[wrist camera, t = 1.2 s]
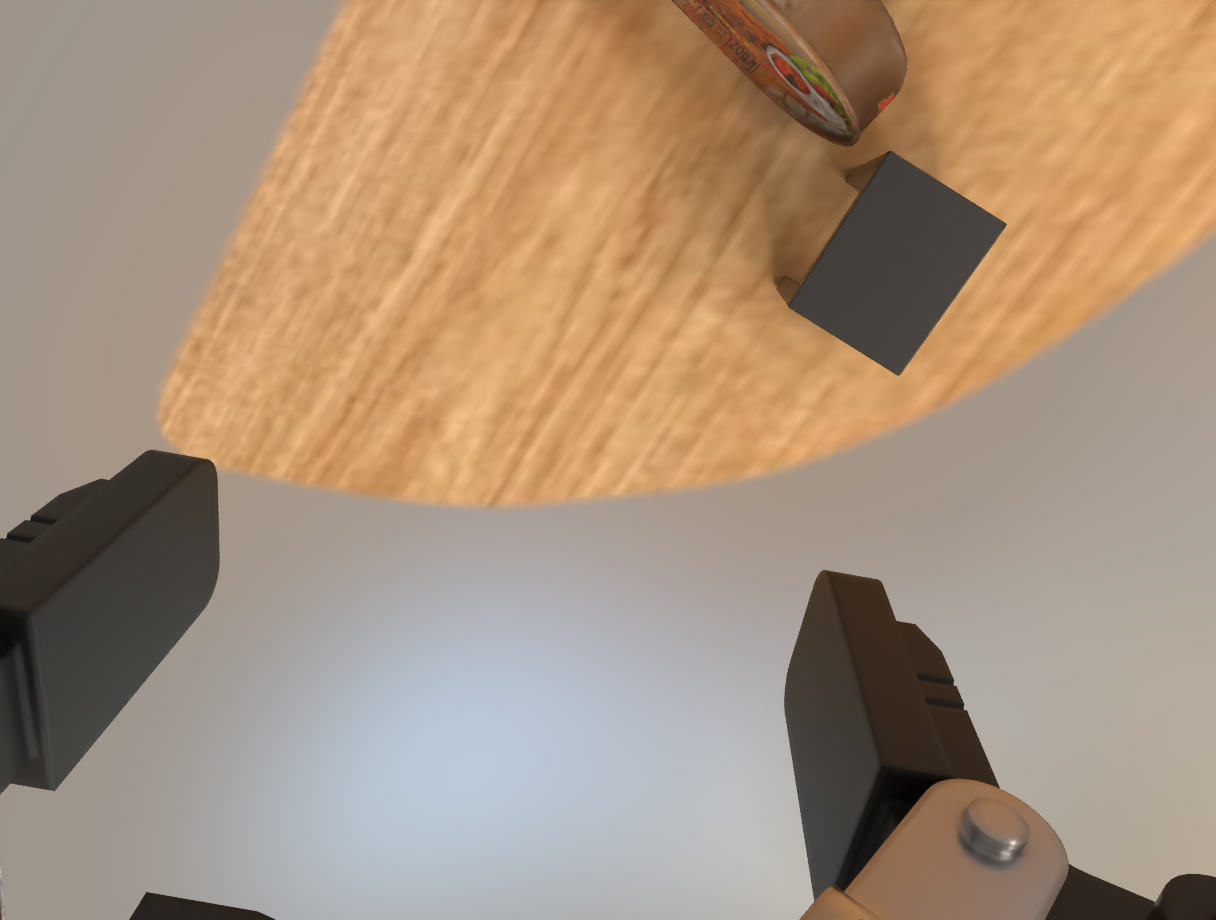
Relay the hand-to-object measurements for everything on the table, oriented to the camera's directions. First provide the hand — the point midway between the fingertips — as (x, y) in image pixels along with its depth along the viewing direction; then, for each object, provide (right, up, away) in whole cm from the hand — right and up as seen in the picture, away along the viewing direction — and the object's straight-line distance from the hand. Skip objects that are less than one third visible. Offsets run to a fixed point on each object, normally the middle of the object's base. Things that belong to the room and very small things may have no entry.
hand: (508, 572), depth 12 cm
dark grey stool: (+11, +9, +22) cm, 27 cm away
